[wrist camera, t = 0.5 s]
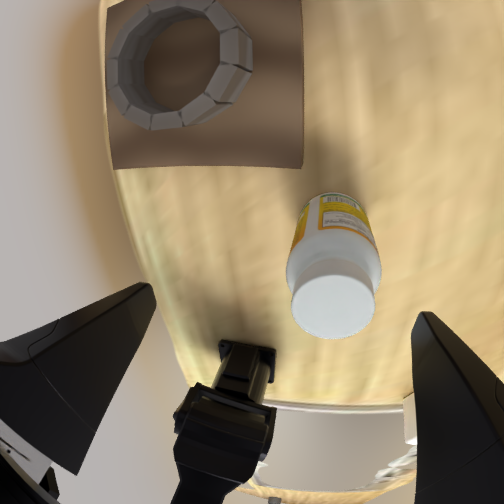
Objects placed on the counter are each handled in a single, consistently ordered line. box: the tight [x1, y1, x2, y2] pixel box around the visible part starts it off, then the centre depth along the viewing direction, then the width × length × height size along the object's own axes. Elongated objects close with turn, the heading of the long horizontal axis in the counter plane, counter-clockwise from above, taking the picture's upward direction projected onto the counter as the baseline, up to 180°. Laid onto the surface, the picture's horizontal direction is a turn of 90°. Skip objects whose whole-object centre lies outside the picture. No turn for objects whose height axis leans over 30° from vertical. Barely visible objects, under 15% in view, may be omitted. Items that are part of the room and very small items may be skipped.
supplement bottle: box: [286, 192, 382, 339], centre depth 16 cm, size 5×5×10 cm
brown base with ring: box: [105, 0, 304, 170], centre depth 14 cm, size 15×15×5 cm
